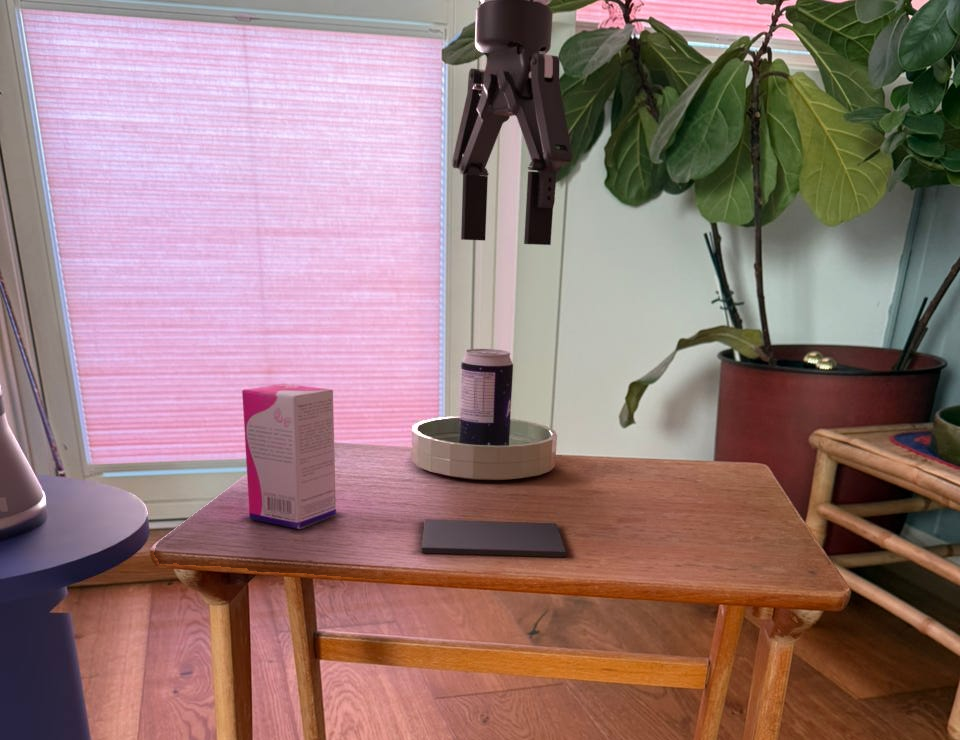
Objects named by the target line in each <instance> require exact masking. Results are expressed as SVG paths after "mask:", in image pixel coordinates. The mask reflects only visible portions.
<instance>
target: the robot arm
mask: <svg viewBox="0 0 960 740" xmlns="http://www.w3.org/2000/svg"><path fill="white" fill-rule="evenodd" d="M479 1H480V2H481V3H480V4H479V5H478V7H477V8H476V9H475V28H474V29H475V31H474V32H475V33H474V46H475V48H476V50H477V51H478V52H480V53H483V54H484V55H485V57H486V62H485V67H484V69H480V68H470V69H469V71H468V79H467V91H466V96H465V102H464V107H463V109H462V115H461V118H460V119H461V120H460V123H459V128H458V133H457V137H456V142H455V146H454V151H453V155H452V159H451V165H452V168H453V169H458V170H459V173H460V175H462V193H461V196H462V198H461V199H462V200H461V227H460V230H461V231H460V232H461V234H460V240H463V241H486V234H487V233H486V232H487V231H486V230H487V229H486V228H487V208H488V207H487V206H488V205H487V204H488V180H489V179H488V178H489V171H488V170H487V168H486V167H487V165H488V162H489V159H490V157H491V154H492V152H493V149H494V147H495V144H496V142H497V139H498V138H499V137H498V136H499V135H500V132H501V130H502V126H503V124H504V123H506V122H508V121H509V119H510V117H513V116H514V117H516V120H517V123H518V127H519V129H520V132H521V135H522V137H523V141H524V143H525V147H526V149H527V151H528V155H529V157H530V160H531V161H530V164H528V166H527V169H528V170H529V171H527V185H526V201H525V202H526V203H525V219H524V220H525V221H524V238H523V244H524V245H539V246H551V245H552V244H551V243H552V231H553V230H552V229H553V215H554V205H555V200H556V185H557V173H559V172H560V170H561V168H562V166H563V165H569V164H571V162H572V160H573V151H572V145H571V139H570V134H569V128H568V123H567V117H566V113H565V112H566V111H565V107H564V100H563V95H562V89H561V83H560V64H561V63H560V58H559V56H556V55H551V54H548V53H549V52H550V50H551V46H552V33H553V32H552V31H553V14H554V13H553V11H552V9H551V8H550V6H548V5H549V4H551V2H552V1H553V0H479ZM557 147H558V148H557ZM35 475H36V474H35V472H34V470H33V467H31V465H30V463H29V461H28V459H27V457H26V455H25V453H24V452H23V450H22V448H21V446H20V444H19V442H18V441H17V438H16V437H15V435H14V433H13V431H12V429H11V427H10V424H9V422H8V419H7V414H6V407H5V402H4V397H3V391H2V385H1V383H0V541H4V540H8V539H11V538H14V537H17V536H20V535H22V534H25V533H27V532H29V531H31V530H33V529H35V528H37V527H38V526H40V525H41V524H42V523H43V522H44V521H45V520H46V519H47V517H48V512H47V506H46V500H45V494H44V492H43V490H42V487H41V485H40V483H39V482H38V480H37V478H36V476H35Z"/></svg>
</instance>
